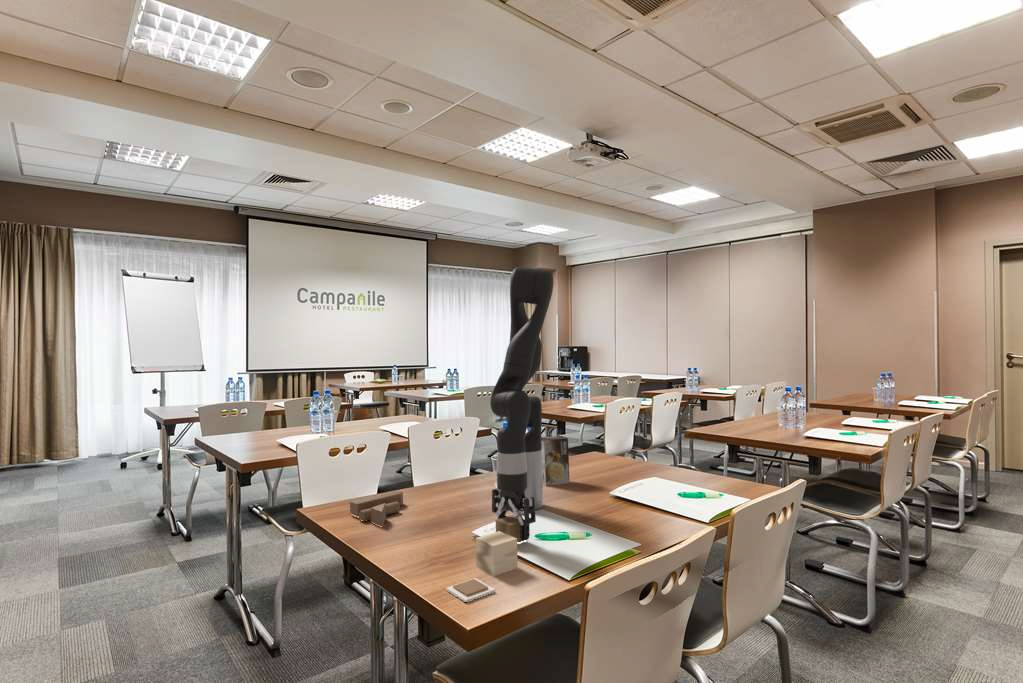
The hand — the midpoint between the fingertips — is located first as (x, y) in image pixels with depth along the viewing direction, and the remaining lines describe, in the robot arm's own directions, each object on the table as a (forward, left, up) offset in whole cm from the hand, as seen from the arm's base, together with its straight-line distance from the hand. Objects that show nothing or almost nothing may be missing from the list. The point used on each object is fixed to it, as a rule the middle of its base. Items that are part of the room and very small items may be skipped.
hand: (513, 535), depth 133 cm
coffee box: (-36, +47, -2) cm, 59 cm away
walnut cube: (-1, 0, -2) cm, 2 cm away
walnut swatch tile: (+15, -23, -2) cm, 28 cm away
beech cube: (+9, -12, -2) cm, 15 cm away
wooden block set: (-42, -13, -2) cm, 44 cm away
